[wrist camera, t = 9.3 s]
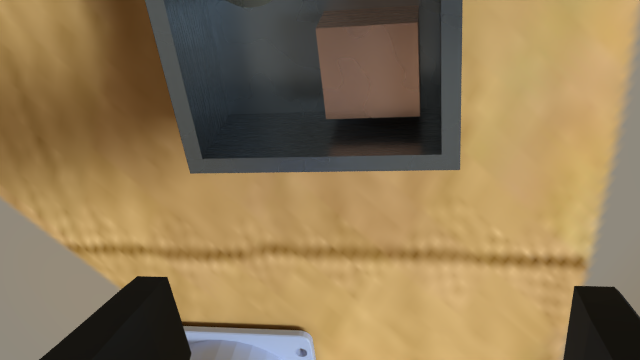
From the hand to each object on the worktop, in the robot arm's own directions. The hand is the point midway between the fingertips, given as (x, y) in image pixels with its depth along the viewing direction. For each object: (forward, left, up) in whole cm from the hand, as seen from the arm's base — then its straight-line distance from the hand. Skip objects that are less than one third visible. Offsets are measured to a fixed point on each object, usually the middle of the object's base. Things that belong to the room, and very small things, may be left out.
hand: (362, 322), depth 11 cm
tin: (+3, +2, -10) cm, 11 cm away
